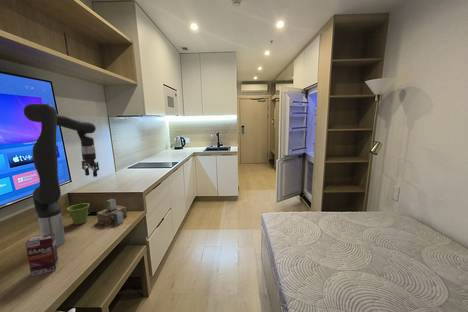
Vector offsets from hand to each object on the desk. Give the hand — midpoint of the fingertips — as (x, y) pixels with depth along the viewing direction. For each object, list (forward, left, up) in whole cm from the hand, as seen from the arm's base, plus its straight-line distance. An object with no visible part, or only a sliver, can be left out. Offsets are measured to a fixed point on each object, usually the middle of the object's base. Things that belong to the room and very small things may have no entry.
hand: (91, 176), depth 138 cm
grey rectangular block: (+1, -22, -30) cm, 37 cm away
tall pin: (+2, -14, -30) cm, 33 cm away
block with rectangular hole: (+2, -14, -30) cm, 33 cm away
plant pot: (-9, +2, -30) cm, 32 cm away
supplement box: (-43, -33, -30) cm, 62 cm away
